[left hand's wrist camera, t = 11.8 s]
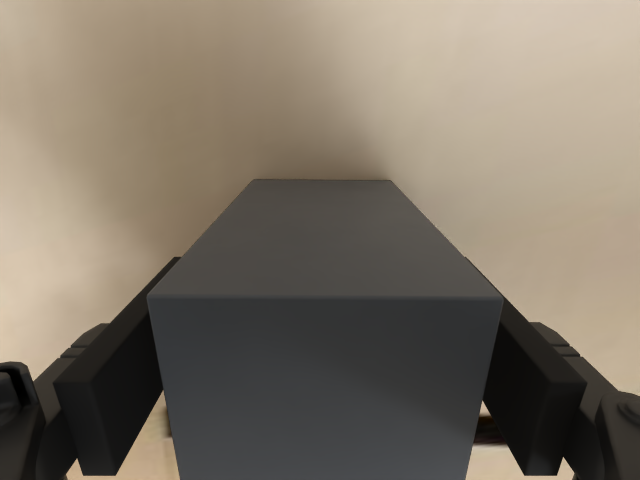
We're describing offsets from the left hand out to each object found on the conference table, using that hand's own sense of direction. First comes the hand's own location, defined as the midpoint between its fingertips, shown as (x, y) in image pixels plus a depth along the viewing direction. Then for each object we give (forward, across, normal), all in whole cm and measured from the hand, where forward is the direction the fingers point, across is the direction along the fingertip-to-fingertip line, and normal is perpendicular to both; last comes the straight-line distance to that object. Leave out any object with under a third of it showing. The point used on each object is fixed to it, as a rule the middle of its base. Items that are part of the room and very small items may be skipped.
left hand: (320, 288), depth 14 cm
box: (+3, 0, -7) cm, 8 cm away
